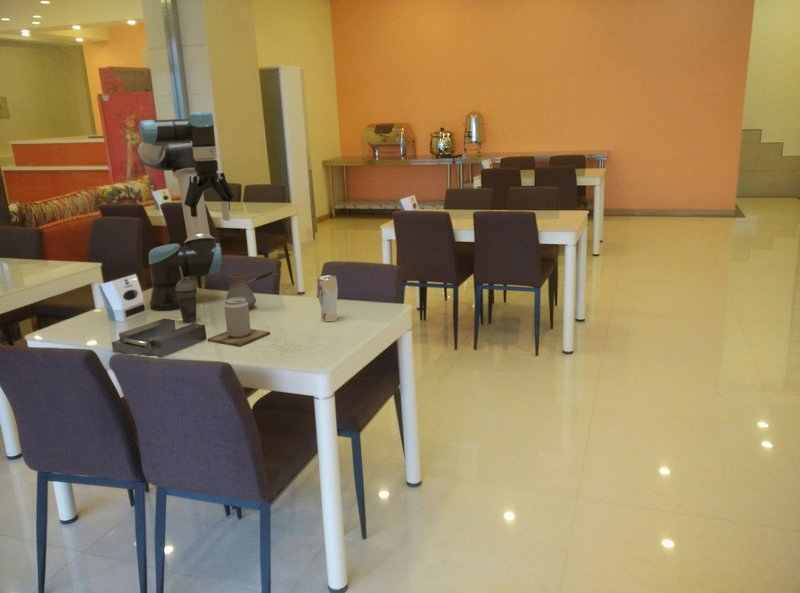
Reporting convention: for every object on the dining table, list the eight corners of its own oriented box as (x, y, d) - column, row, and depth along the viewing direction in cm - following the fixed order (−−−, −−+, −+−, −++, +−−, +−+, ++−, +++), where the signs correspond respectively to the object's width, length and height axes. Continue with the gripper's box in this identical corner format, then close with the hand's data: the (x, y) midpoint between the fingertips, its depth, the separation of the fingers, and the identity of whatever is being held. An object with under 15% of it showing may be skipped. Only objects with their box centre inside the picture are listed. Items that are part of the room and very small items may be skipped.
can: (245, 339, 221) (241, 302, 218) (223, 338, 222) (219, 302, 219) (254, 331, 228) (251, 296, 225) (233, 331, 229) (229, 296, 226)
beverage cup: (197, 324, 242) (190, 268, 237) (176, 324, 242) (169, 268, 237) (202, 318, 249) (196, 263, 244) (182, 319, 249) (175, 264, 244)
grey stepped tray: (112, 351, 216) (110, 335, 215) (165, 332, 234) (164, 318, 232) (154, 359, 207) (152, 343, 205) (206, 339, 224) (205, 324, 223)
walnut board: (207, 341, 223) (207, 338, 222) (238, 329, 234) (238, 326, 234) (240, 346, 216) (240, 344, 215) (270, 334, 227) (269, 331, 227)
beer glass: (316, 321, 239) (313, 279, 236) (324, 316, 246) (321, 274, 242) (334, 322, 237) (332, 280, 234) (342, 317, 244) (339, 275, 240)
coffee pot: (220, 312, 256) (215, 272, 252) (234, 304, 267) (230, 266, 263) (273, 314, 251) (269, 273, 247) (286, 305, 262) (282, 267, 258)
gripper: (184, 162, 218) (192, 229, 223) (240, 157, 239) (245, 218, 244) (168, 162, 222) (176, 228, 227) (224, 157, 243) (230, 217, 248)
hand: (212, 223), depth 236 cm, fingers open, 13 cm apart
